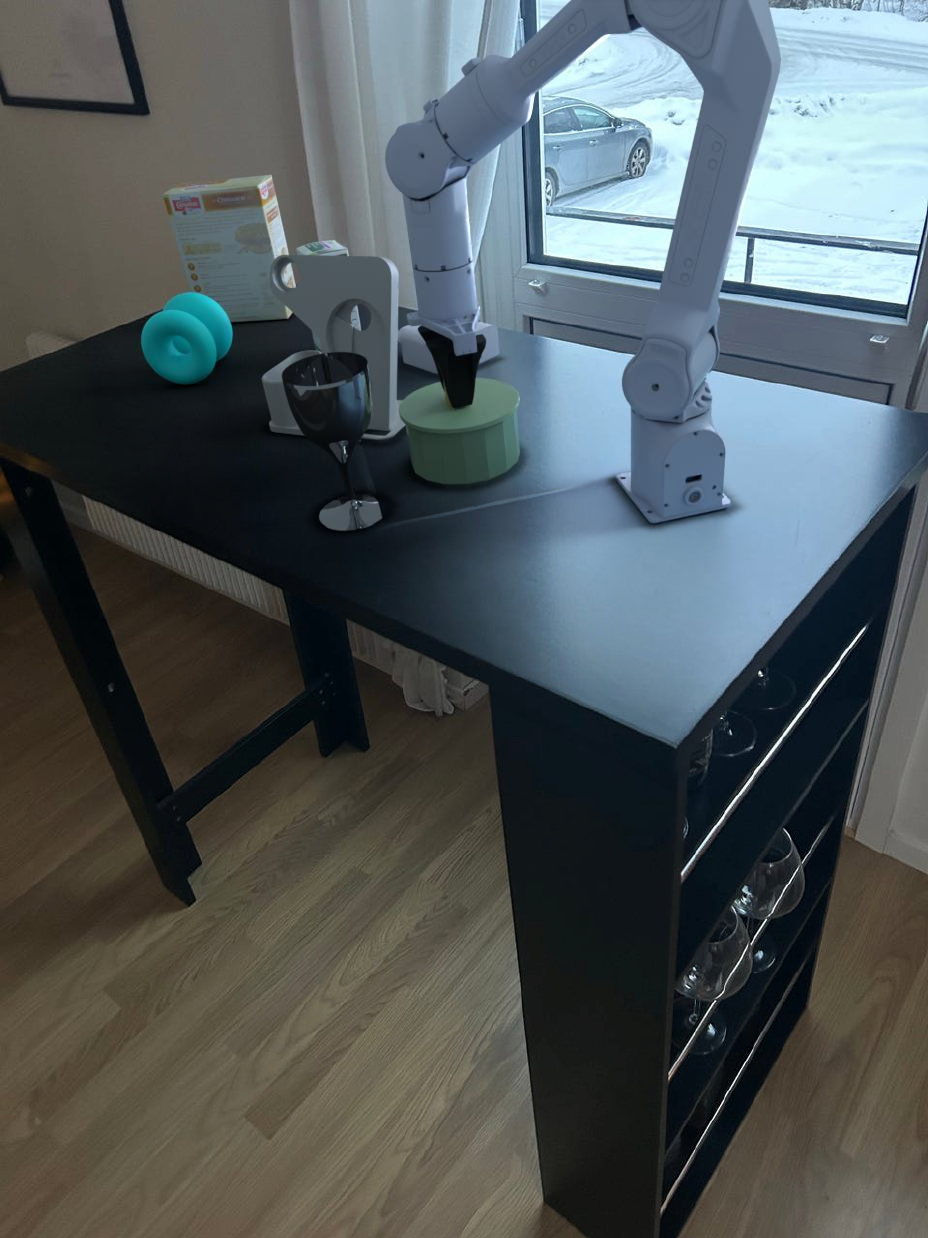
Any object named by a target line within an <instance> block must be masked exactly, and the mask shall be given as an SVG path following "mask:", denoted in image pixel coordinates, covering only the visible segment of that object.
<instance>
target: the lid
mask: <svg viewBox="0 0 928 1238" xmlns="http://www.w3.org/2000/svg"><path fill="white" fill-rule="evenodd" d="M443 382H444V381H443ZM444 390H445V392H444ZM444 390H443V388H442V385H441V382H440V381H437V382H435V383H431V384H428V385H425V386H423V387H421V388H419V389H416V390H415V391H413V392H411V393H410V394H408V395H406V396H405V398H404V399H402V400H403V401H402V402H401V404H400V407H399V415H400V418H401V420H402V421H403V422H404V423H405V424H406V425H408V426H409V427H411V428H413V429H416V430H420V431H424V432H430V433H462V432H469V431H474V430H478V429H482V428H486V427H489V426H492V425H494V424H497V423H499V422H501V421H503V420H505V419H506V418H508V417H509V416H511V415H512V414H513V413H514V412H515V411H516V410H517V411H518V408H519V406H520V402H521V401H520V394H519V391H518V390H517V389H516V388H515V387H514V386H513V385H511V384H509V383H507V382H504V381H502V380H497V379H493V378H492V379H491V378H485V377H476V382H475V392H474V399H473V404H472V405H468V406H463V407H458V408H453V407H452V405H451V403H450V401H449V398H448V395H447V392H446V388H445V385H444ZM406 425H405V426H406Z"/></svg>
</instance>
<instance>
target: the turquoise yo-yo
mask: <svg viewBox="0 0 928 1238" xmlns="http://www.w3.org/2000/svg"><path fill="white" fill-rule="evenodd" d="M233 337H234V336H233V327H232V322H230V320H229V318H228V316H227V314H226V313H225V311H224V310H223V308H222V307H221V306H220V305H219V304H218V303H217V302H215V301H214V300H213V299H211V298H209V297H207V296H205V295H203V294H199V293H193V292H190V291H187V292H182V293H179V294H177V295H174V296H173V297H171V298H170V299H169V300H168V301H167V302H166V303H165V305H164V306H163V309H162V310H161V311H159V312H157V313H155V314H153V315H152V316H151V317H150V318H148V320H147V321H146V323H145V324H144V325H143V328H142V332H141V336H140V344H141V349H142V354H143V355H144V359H145V360H146V362H147V364H148V365H149V367H151V369H152V370H153V371H154V372H155V373H156V374H157V375H159V376H160V377H161V378H163V379H165V380H166V381H169V382H171V383H174V384H178V385H194V384H197V383H199V382H202V381H204V380H205V379H206V378H208V376H209V375H210V374H211V373H212V372H213V371H214V368H215V366H216V362H218V361H220V360H222V359H223V358H224V357H225V356H226V355H227V354H228V352H229V351H230V349H231V346H232V343H233Z"/></svg>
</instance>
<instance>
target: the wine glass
mask: <svg viewBox="0 0 928 1238" xmlns="http://www.w3.org/2000/svg"><path fill="white" fill-rule="evenodd" d="M282 381H283V386H284V390H285V394H286V397H287V401H288V404H289V407H290V409H291V412H292V414H293V417H294V419H295V421H296V423H297V425H298V427H299V428H300V430H301V431H302V433H303V434H304V435H305V436H304V435H303V436H304V437H306V439H308V440H309V441H310V442H312V443H313V444H314V445H316V446H317V447H319V448H320V449H322V450H323V451H325V452H326V453H327V454H328V455H330V456H331V457H332V459H333V460H334V461H335V463H336V464H337V467H338V469H339V472H340V475H341V478H342V481H343V484H344V488H345V493H346V495H344V496H341V497H338V498H336V499H334V500H332V501H330V502H329V503H327V504H326V505H325V506H324V507H322V509H321V510H320V512H319V515H318V520H319V522H320V524H321V525H322V526H323V527H326V528H328V529H330V530H335V531H344V532H345V531H355V530H361V529H364V528H369V527H371V526H373V525H375V524H377V523H378V522H380V521H381V520H383V519H384V518H385V514H384V512H383V508H382V506H381V502H380V499H379V495H377V494H373V493H355V490H354V485H353V478H352V458H353V453H354V451H355V449H356V447H357V445H358V444H359V443H360V442H359V441H361V440H362V439H363V438H362V436H363V435H364V434H366V431H367V430H368V429H367V428H368V426H369V424H370V421H371V416H372V383H371V375H370V370H369V364H368V361H367V359H366V358H365V357H364V356H362V355H359V354H356V353H350V352H330V353H323V354H318V355H313V356H310V357H306V358H303V359H301V360H298V361H296V362H294V363H292V364H291V365H289V366H288V367H286V368H285V369H284V371H283V372H282Z"/></svg>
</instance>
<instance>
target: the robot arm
mask: <svg viewBox="0 0 928 1238" xmlns="http://www.w3.org/2000/svg"><path fill="white" fill-rule="evenodd" d="M641 29H644V30H645V31H647V32H648V33H649V34H650V35H651V36H652V37H654V38H656V39H657V40H658V41H660V42H661V43H663V44H664V45H666V46H667V47H669V48H670V49H671V50H673V51H674V52H675V53H677V54H679V55H680V57H681V59H682V60H683V61H684V63H685V65H686V66H687V67H688V68H689V70H690V71H691V73H692V74H693V76H694V77H695V79H696V80H697V82H698V83H699V85H700V86H701V88H702V90H703V95H702V100H701V104H700V108H699V113H698V117H697V122H696V126H695V131H694V135H693V139H692V144H691V148H690V152H689V157H688V162H687V166H686V171H685V175H684V179H683V184H682V188H681V193H680V197H679V202H678V206H677V210H676V215H675V220H674V224H673V228H672V232H671V236H670V241H669V246H668V251H667V255H666V259H665V264H664V267H663V273H662V277H661V281H660V285H659V291H658V295H657V299H656V302H655V303H654V307H653V309H652V311H651V314H650V316H649V319H648V320H647V323H646V324H645V325H646V326H645V328H644V329H643V333H642V335H641V341H640V344H639V347H638V350H637V351H636V353H635V354H634V355H633V356H632V358H631V359H630V360H629V361H628V362H627V363H626V365H625V367H624V369H623V372H622V375H621V388H622V393H623V396H624V397H625V400H626V402H627V403H628V405H629V406H630V471H627V472H621V473H618V474H616V475H615V480H616V481H617V482H618V484H619V485H620V486H621V488H622V489H623V490H624V492H625V493H626V494H627V495H628V497H629V498H630V499H631V501H632V502H633V503H634V504H635V506H636V507H637V508H638V510H639V511H640V512H641V513H642V514H643V516H644V517H645V518H646V520H647V521H648V522H649V523H651V524H658V523H663V522H667V521H672V520H676V519H677V520H678V519H681V518H685V517H690V516H695V515H700V514H705V513H708V512H709V513H710V512H714V511H718V510H723V509H727V508H730V507H731V506H732V500H731V499H730V498H729V497H728V496H727V495H726V494H725V493H724V483H725V482H724V481H725V468H726V467H725V466H726V446H725V442H724V440H723V438H722V437H721V435H720V434H719V432H718V431H717V430H716V428H715V425H714V423H713V417H712V405H713V404H712V403H713V394H712V392H711V391H712V390H711V388H710V386H709V383H708V381H707V376H708V375H709V374H710V373H711V372H712V371H713V369H714V368H715V366H717V363H718V361H719V357H720V353H721V346H720V340H719V336H718V323H719V322H718V321H719V318H720V315H721V314H720V313H721V307H720V304H719V297H720V295H721V294H720V293H721V290H722V286H723V283H724V279H725V275H726V271H727V268H728V264H729V260H730V258H731V253H732V249H733V245H734V242H735V238H736V235H737V230H738V227H739V225H740V219H741V217H742V213H743V208H744V206H745V205H744V204H745V202H746V198H747V194H748V190H749V187H750V183H751V179H752V176H753V172H754V168H755V164H756V161H757V157H758V153H759V149H760V145H761V143H762V138H763V135H764V131H765V128H766V124H767V120H768V117H769V112H770V109H771V105H772V102H773V98H774V94H775V91H776V86H777V83H778V79H779V75H780V72H781V63H782V56H781V55H782V54H781V50H780V45H779V42H778V37H777V33H776V28H775V25H774V21H773V16H772V12H771V9H770V4H769V0H569V1H568V2H567V3H566V4H565V5H564V6H563V7H562V8H561V9H560V10H558V12H557V13H556V14H555V15H554V16H553V17H551V18H550V19H549V21H548V22H546V23H545V24H544V25H543V26H542V27H541V28H540V29H539V30H538V31H536V33H535V34H534V35H533V36H532V37H531V38H530V39H529V40H528V41H526V43H524V45H522V46H521V47H520V48H519V49H518V50H517V51H516V52H515V53H514V54H513V55H512V56H511V57H506V56H502V55H498V54H489V55H487V56H485V57H484V58H483V59H481V57H480V56H476V57H473V58H471V59H469V60H468V61H467V62H466V63H465V64H464V65H462V67H461V68H460V69H461V72H462V74H463V77H462V78H461V79H460V80H459V81H458V82H456V84H454V85H453V86H452V87H451V88H450V89H449V90H448V91H447V92H446V93H445V94H443V95H442V96H441V97H440V98H437V97H433V98H431V99H429V100H428V101H427V102H426V103H425V104H424V105H423V106H422V109H423V111H424V115H423V117H422V119H420V120H416V121H414V122H413V121H412V122H406V123H403V124H401V125H399V126H397V128H396V130H395V132H394V133H393V135H392V136H391V137H390V138H389V140H388V142H387V145H386V148H385V154H384V155H385V156H384V162H385V169H386V172H387V175H388V177H389V180H390V181H391V183H392V184H393V186H394V187H395V188H396V189H397V190H398V191H399V192H400V193H401V194H402V201H403V208H404V216H405V224H406V230H407V237H408V244H409V251H410V252H409V253H410V258H411V265H412V274H413V280H414V288H415V295H416V302H417V311H413V312H408V313H407V314H406V321H407V323H408V325H410V326H418V325H421V326H419V327H418V332H419V333H420V335H421V336H422V338H423V339H424V341H425V342H426V346H427V348H428V349H429V351H430V352H431V355H432V357H433V360H434V363H435V366H436V369H437V372H438V374H437V375H438V379H439V382H441V385H442V388H443V390H444V385H445V388H446V392H447V395H448V398H449V401H450V403H451V405H452V407H453V408H458V407H463V406H468V405H472V404H473V399H474V392H475V382H476V378H477V373H478V368H479V365H480V364H479V361H480V358H481V356H482V353H483V351H484V349H485V347H486V338H485V337H484V335H483V334H480V335H476V334H475V329H476V326H477V323H478V322H479V319H480V316H481V305H480V304H479V303H478V296H477V288H476V287H477V286H476V277H475V264H474V256H473V246H472V235H471V225H470V214H469V205H468V188H467V180H468V176H469V174H470V173H471V171H472V170H473V167H474V166H475V165H476V164H477V163H479V162H480V161H481V160H482V159H483V158H485V157H486V156H487V155H488V154H489V153H491V152H492V151H493V150H494V149H496V148H497V147H498V146H499V145H500V144H503V142H505V141H506V140H507V139H508V138H509V137H510V136H512V135H513V134H515V132H517V131H518V130H519V129H520V128H522V127H523V126H524V125H526V124H527V123H528V122H529V121H530V120H531V116H532V113H533V107H534V102H535V95H536V93H537V92H539V91H540V90H541V89H542V88H544V87H545V86H546V85H548V84H550V83H551V82H552V81H553V80H555V78H557V77H559V75H561V74H562V73H564V72H565V71H566V70H567V69H569V68H570V67H571V66H573V65H574V64H575V63H576V62H577V61H579V60H581V58H583V57H584V56H585V55H587V54H589V52H591V51H592V50H593V49H594V48H595V47H597V46H599V45H600V43H602V42H604V41H605V40H606V39H607V38H608V37H611V35H628V34H632V33H634V32H636V31H639V30H641ZM443 381H444V382H443ZM444 392H445V390H444Z"/></svg>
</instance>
